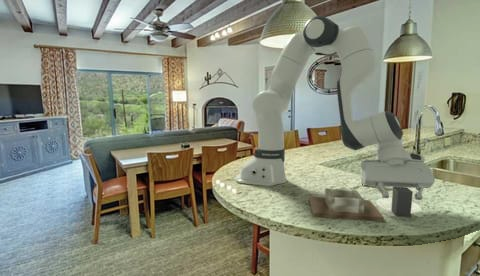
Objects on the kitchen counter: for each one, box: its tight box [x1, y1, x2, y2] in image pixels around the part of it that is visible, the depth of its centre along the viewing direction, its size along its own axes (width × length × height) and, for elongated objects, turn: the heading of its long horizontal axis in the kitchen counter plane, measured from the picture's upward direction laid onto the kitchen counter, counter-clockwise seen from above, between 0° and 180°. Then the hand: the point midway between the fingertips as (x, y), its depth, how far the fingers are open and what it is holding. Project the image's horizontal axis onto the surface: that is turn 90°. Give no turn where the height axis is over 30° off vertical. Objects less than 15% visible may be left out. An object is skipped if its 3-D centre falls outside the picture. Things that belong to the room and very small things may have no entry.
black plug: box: [390, 187, 414, 218], centre depth 84 cm, size 4×4×8 cm
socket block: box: [308, 187, 385, 222], centre depth 88 cm, size 20×14×5 cm
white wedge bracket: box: [360, 159, 366, 186], centre depth 114 cm, size 4×10×9 cm
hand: (402, 198), depth 84 cm, fingers open, 8 cm apart
